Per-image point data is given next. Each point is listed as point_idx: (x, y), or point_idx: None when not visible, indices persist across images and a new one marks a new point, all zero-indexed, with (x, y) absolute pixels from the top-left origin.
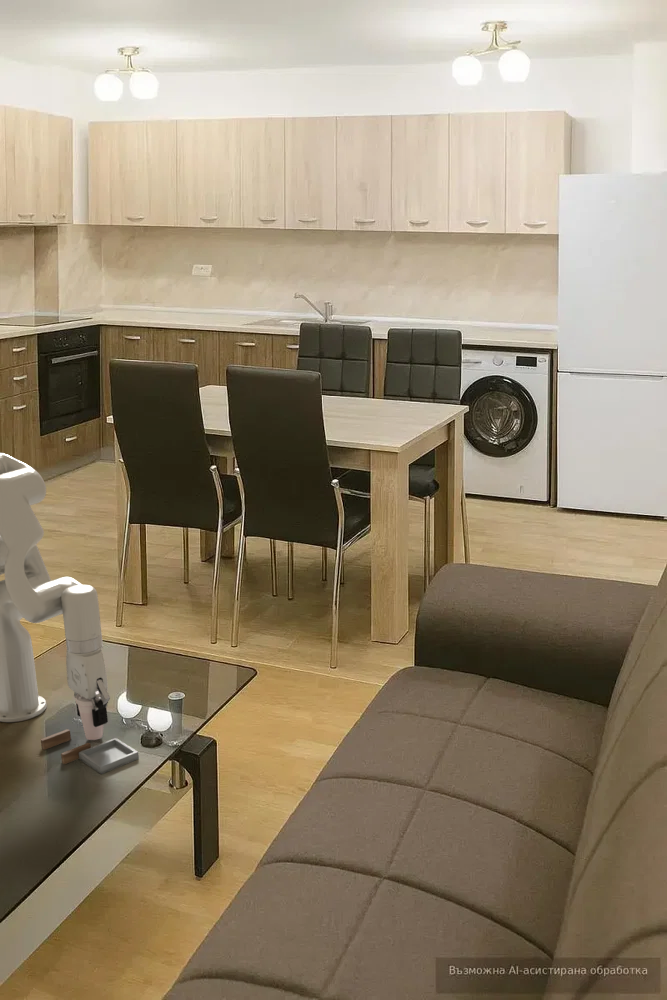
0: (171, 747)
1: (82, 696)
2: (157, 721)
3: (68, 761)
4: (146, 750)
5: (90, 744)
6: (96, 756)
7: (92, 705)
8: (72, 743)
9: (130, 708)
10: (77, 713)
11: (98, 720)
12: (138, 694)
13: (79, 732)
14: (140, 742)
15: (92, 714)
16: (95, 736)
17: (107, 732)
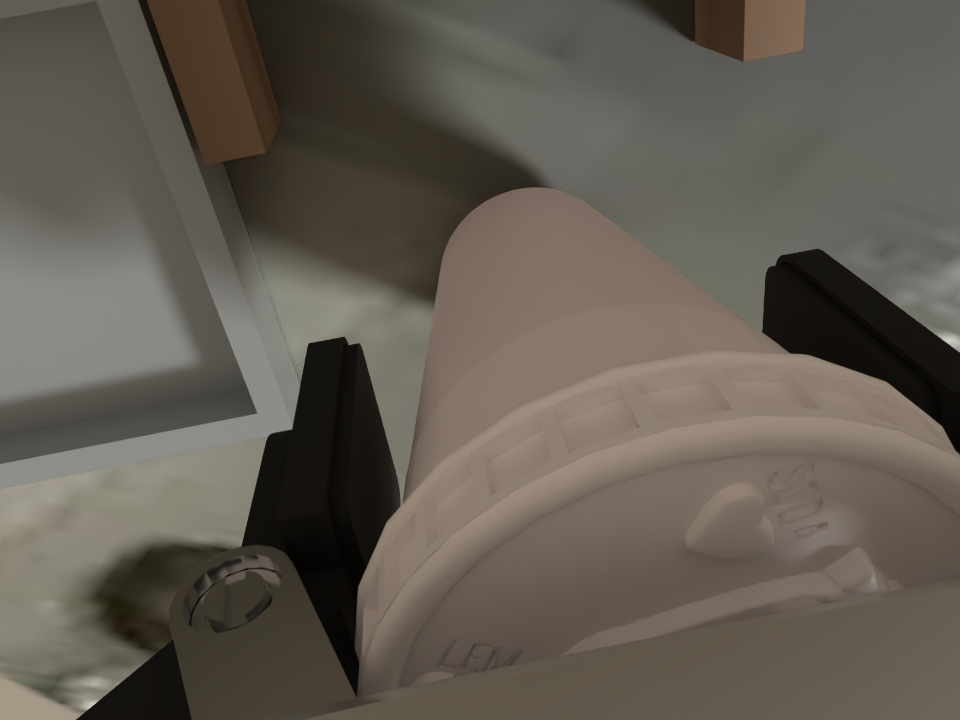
0: (35, 678)
1: (435, 691)
2: None
3: None
4: (61, 545)
5: (206, 159)
6: (65, 145)
7: (360, 592)
8: (601, 25)
9: None
10: (827, 260)
11: (283, 444)
12: None
13: (775, 180)
14: (234, 543)
15: (319, 449)
16: (439, 277)
17: None
